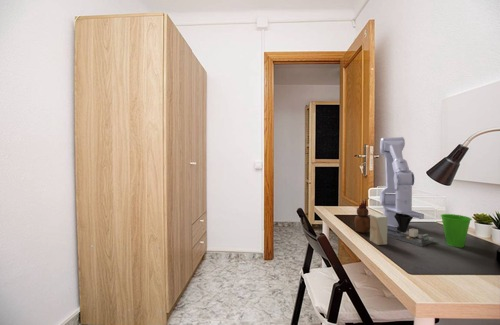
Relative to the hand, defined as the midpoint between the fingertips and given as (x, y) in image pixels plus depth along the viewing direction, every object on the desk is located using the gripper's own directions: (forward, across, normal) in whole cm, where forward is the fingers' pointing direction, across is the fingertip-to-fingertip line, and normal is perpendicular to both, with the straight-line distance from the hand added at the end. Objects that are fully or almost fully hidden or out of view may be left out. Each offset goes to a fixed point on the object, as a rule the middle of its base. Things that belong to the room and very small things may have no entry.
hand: (403, 231), depth 99 cm
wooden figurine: (+3, -14, -8) cm, 16 cm away
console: (+2, 0, 0) cm, 2 cm away
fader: (+1, +4, 0) cm, 4 cm away
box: (+2, -2, -15) cm, 15 cm away
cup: (+2, +15, +8) cm, 17 cm away
